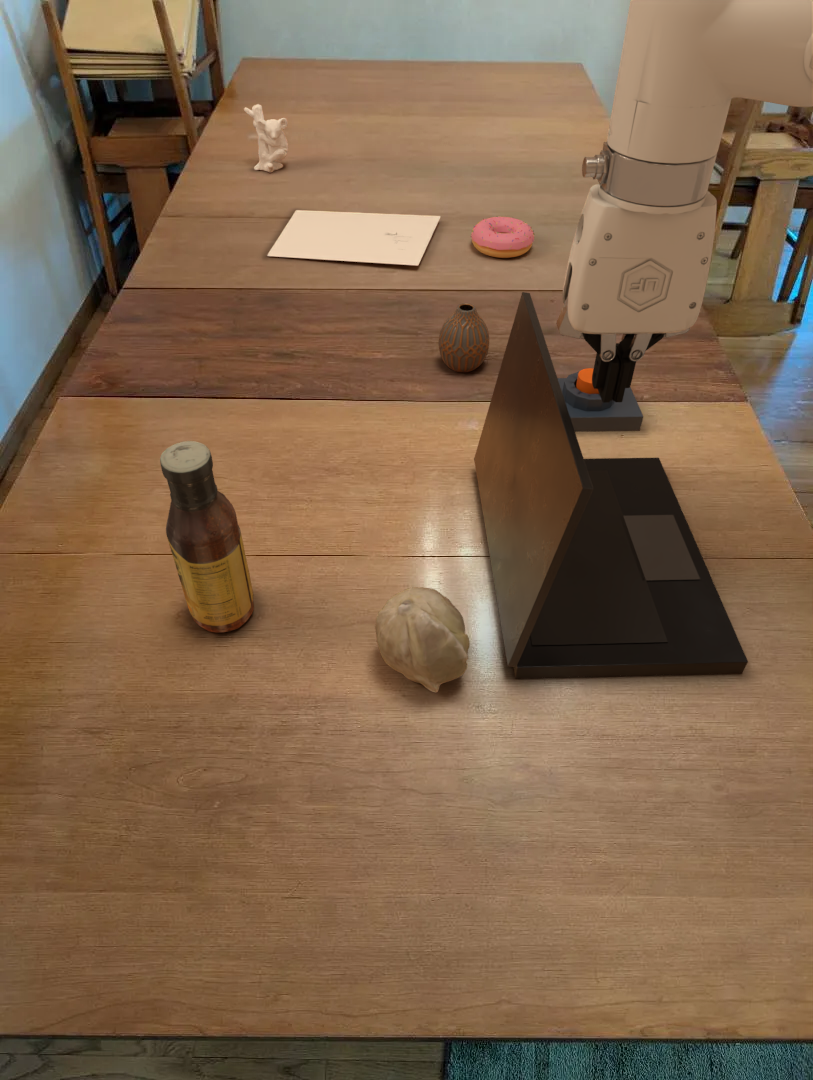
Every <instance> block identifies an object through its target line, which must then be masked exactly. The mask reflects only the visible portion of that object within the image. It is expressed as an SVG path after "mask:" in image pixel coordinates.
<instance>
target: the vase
mask: <svg viewBox="0 0 813 1080" xmlns="http://www.w3.org/2000/svg"><path fill="white" fill-rule="evenodd" d="M489 349H490V333H489V330H488V326H487V324H486V322H485V321H484V319H483V318H482V317H481V316H480V314H479V312H478V311H477V307H476V306H475V304H472V303H469V302H463V303H459V304H458V305H457V306H456V308H455V310H454V311H453V312H452V313H451V314H450V315H449V316H448V318H447V319H446V320H445V321H444V323H443V324H442V326H441V328H440V332H439V335H438V351H439V355H440V358H441V360H442V361H443V363H444V364H445V365H446V367H448V369H451V370H452V371H454V372H458V373H469V372H472V371H474V370H476V369H478V368H479V367H480V366H481V365H482V364H483V363H484V361H485V359H486V357H487V355H488V352H489Z"/></svg>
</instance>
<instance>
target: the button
mask: <svg viewBox="0 0 813 1080" xmlns="http://www.w3.org/2000/svg"><path fill="white" fill-rule="evenodd" d="M593 369H594V367H586V368H584V369H581V370H579V371H580V372H579V371H578V372H579V373H578V378H577V383H576V388H577V389H578V390H580V391H581V392H584V393H588V394H599V391H598V389H594V387H593V385H592V374H593Z"/></svg>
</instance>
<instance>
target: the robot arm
mask: <svg viewBox="0 0 813 1080" xmlns="http://www.w3.org/2000/svg"><path fill="white" fill-rule="evenodd" d="M619 60H620V61H619V66H618V72H617V77H616V83H615V90H614V95H613V103H612V107H611V113H610V120H609V124H608V130H607V137H606V141H604V142H603V145H602V149H601V150H600V152H599V154H594V156H584V157H583V160H582V166H581V175H582V178H592V180H597V182H598V183H596V184H593V185H592V186H591V187H590V188H589V191H588V193H587V196H586V199H585V202H584V204H583V207H582V210H581V213H580V216H579V219H578V221H577V225H576V229H575V233H574V236H573V240H572V244H571V247H570V252H569V255H568V259H567V260H568V261H567V264H566V269H565V273H564V279H563V286H562V293H561V294H562V295H561V296H562V297H561V298H562V303H563V306H562V308H561V310H560V313H559V314H558V318H557V320H556V327H557V330H558V333H559V334H560V335H561V336H563V337H568V338H573V339H577V340H579V339H581V340H584V341H585V342H586V343H587V344H588V345H589V346H590V347H591V349H593V351H595V353H596V355H595V360H594V364H593V368H594V369H593V374H592V385H593V387H594V389H598V391H599V394H600V397H601V399H602V402H603V403H608V402H610V401H612V400H613V401H615V402H622V400H623V396H624V392H625V388H630V387H631V386H632V381H633V377H634V373H635V368H636V364H637V362H639V361H640V360H642V359H643V358H644V356H645V354H646V352H647V351H648V350H650V349H651V348H652V347H653V346H654V345H656V344H657V343H659V342H660V341H661V340H662V339H663V338H666V339H668V338H671V337H675V336H679V335H685V334H687V333H688V332H689V331H690V330H691V328H692V327H693V326H694V325H695V324H696V322H697V320H698V318H699V315H700V312H701V308H702V305H703V301H704V297H705V293H706V288H707V284H708V279H709V272H710V267H711V262H712V255H713V247H714V241H715V232H716V221H717V210H718V209H717V207H718V206H717V205H718V201H717V197H715V196H714V194H712V193H711V192H710V191H709V186H710V183H711V179H712V175H713V172H714V168H715V164H716V159H717V157H718V152H719V148H720V144H721V142H722V141H721V140H722V137H723V134H724V129H725V126H726V122H727V117H728V115H729V110H730V107H731V102H732V99H736V98H739V99H746V100H753V101H760V102H766V103H770V104H776V105H782V106H787V107H798V108H813V0H630V1H629V6H628V12H627V19H626V24H625V31H624V37H623V43H622V49H621V55H620V59H619ZM617 335H622V336H621V341H619V342H617Z"/></svg>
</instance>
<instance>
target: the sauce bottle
mask: <svg viewBox="0 0 813 1080" xmlns="http://www.w3.org/2000/svg"><path fill="white" fill-rule="evenodd" d="M213 461H214V460H213V456H212V453H211V449H210V448H209V447H208V446H207V445H206V444H204V443H202V442H200V441H195V440H186V441H185V440H183V441H180V442H176V443H174V444H172V445H171V446H169V447H167V448H165V450H164V451H162V453H161V455H160V458H159V463H160V468H161V473H162V475H163V477H164V478H165V480H166V482H167V485H168V490H169V492H170V493H169V496H170V497H169V498H170V505H169V510H168V514H167V520H166V525H165V534H166V535H165V536H166V539H167V542H168V545H169V548H170V552H171V554H172V558H173V561H174V565H175V568H176V572H177V576H178V579H179V581H180V585H181V588H182V592H183V595H184V599H185V601H186V606H187V608H188V611H189V613H190V615H191V616H192V620H193V621H194V622H195V624H197V625H198V626H199V627H200V628H202V629H204V630H206V631H208V632H211V633H226V632H231V631H234V630H238V629H239V628H241V627H242V626H243V625H245V624H246V622H247V621H248V620H249V619H250V618H251V616H252V614H253V613H254V608H255V607H254V606H255V604H254V591H253V585H252V580H251V574H250V570H249V565H248V560H247V556H246V551H245V546H244V540H243V536H242V531H241V527H240V525H239V523H238V522H239V521H238V518H237V513H236V509H235V507H234V506H233V504H232V503H231V501H230V500H229V499H228V497H226V495H225V494H224V493H223V492H221V491H219V490H218V486H217V484H216V481H215V477H214V471H213V467H214V462H213Z"/></svg>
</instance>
